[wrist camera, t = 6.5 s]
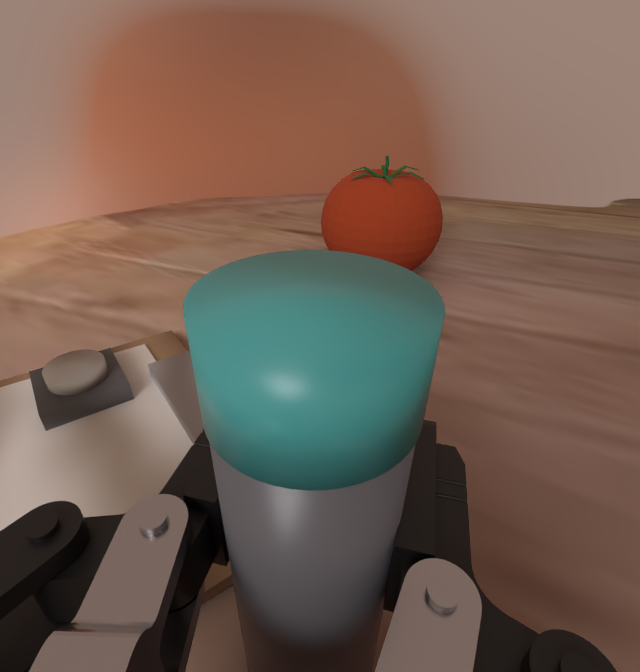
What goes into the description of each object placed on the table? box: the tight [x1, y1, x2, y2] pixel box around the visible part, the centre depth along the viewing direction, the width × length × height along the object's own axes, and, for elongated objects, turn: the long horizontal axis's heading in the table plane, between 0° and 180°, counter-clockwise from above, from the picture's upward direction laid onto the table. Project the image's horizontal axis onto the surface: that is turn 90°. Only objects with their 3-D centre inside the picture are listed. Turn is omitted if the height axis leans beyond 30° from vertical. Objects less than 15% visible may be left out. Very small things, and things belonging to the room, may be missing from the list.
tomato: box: [321, 156, 443, 271], centre depth 35 cm, size 10×10×10 cm
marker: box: [183, 250, 445, 672], centre depth 9 cm, size 4×4×12 cm
